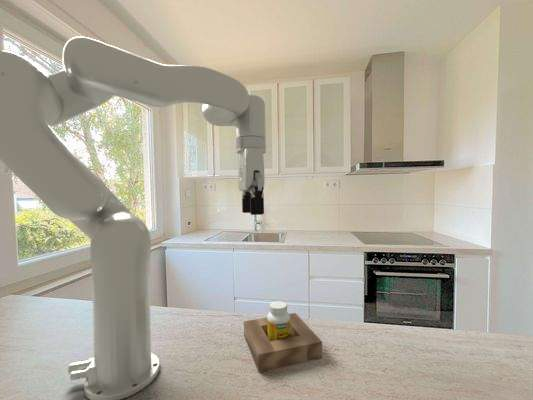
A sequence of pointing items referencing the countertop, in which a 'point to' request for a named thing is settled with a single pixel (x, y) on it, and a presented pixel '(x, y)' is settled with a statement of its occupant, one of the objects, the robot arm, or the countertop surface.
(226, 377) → the countertop surface
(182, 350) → the countertop surface
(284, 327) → the supplement bottle
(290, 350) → the socket block
